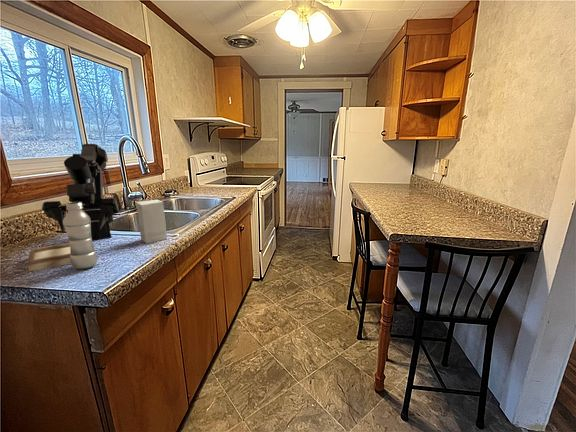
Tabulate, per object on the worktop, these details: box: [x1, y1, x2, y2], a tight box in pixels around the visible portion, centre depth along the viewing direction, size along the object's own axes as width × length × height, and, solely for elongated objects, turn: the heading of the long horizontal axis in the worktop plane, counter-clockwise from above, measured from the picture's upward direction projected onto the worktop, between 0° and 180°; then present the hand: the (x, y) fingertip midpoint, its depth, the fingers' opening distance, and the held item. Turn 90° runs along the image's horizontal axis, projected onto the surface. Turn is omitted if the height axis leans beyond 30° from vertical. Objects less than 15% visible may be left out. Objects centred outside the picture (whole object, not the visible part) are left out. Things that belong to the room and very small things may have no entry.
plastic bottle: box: [63, 201, 98, 270], centre depth 81 cm, size 6×7×20 cm
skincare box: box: [135, 199, 168, 244], centre depth 106 cm, size 8×7×16 cm
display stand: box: [26, 242, 71, 272], centre depth 88 cm, size 13×13×3 cm
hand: (81, 230), depth 83 cm, fingers open, 9 cm apart
